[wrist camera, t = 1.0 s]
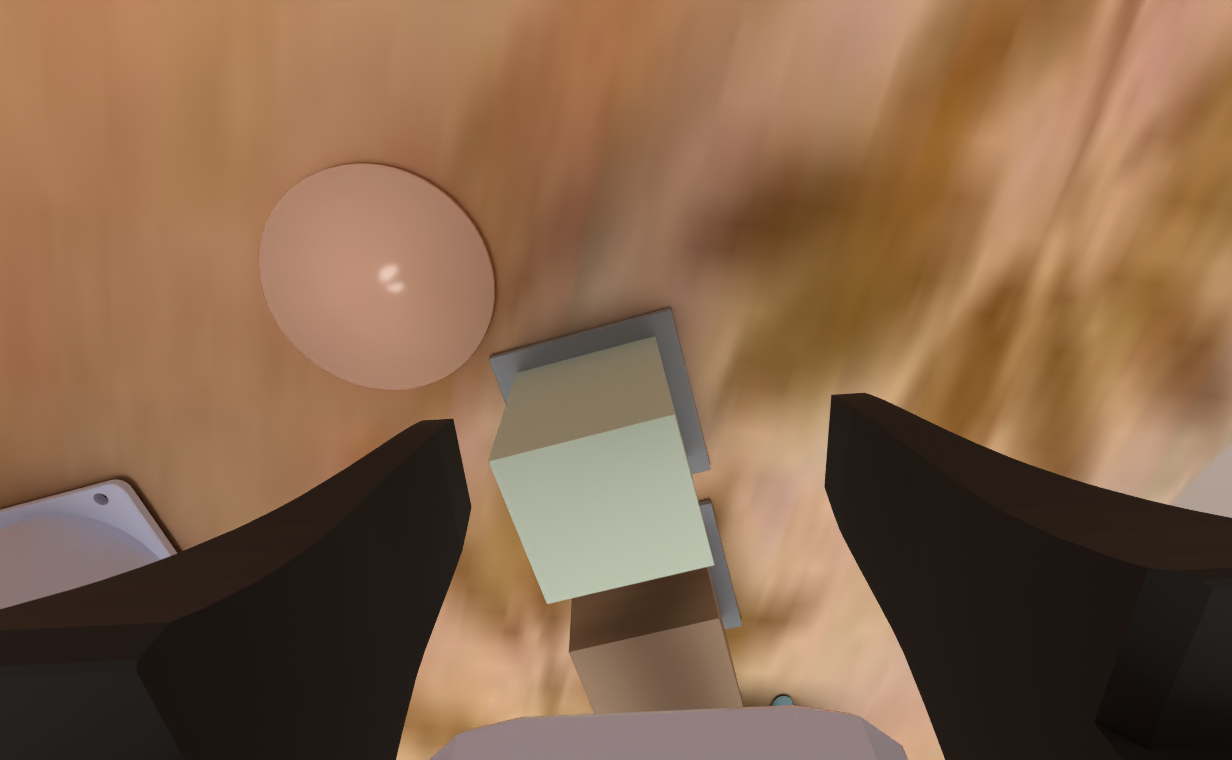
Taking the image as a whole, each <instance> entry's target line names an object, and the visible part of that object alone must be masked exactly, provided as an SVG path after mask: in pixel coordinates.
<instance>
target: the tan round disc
mask: <svg viewBox="0 0 1232 760" xmlns="http://www.w3.org/2000/svg"><path fill="white" fill-rule="evenodd" d="M259 273H260V279H261V285H262V289H263V292H264V296H265V299H266V302H267V304H268V306H269V309H270V311H271V313H272V315H273V317H274V319H275V320H276V322H277V324H278V325H279V327H280V329H281V330H282V331H283V333H284V334H285V335H286V337H287V338H288V339H289V341H290V342H291V343H292V344H293V345H294V346H295V347H296V348H297V349H298V350H299V351H300V352H301V353H302V354H303V355H304V356H306V357H307V358H308V359H309V360H310V361H312V362H313V363H314V364H316V365H317V366H319V367H320V368H322V369H323V370H325V371H327V372H328V373H330V374H332V375H334V376H336V377H338V378H340V379H343V380H345V381H348V382H350V383H353V384H357V385H360V386H364V387H368V388H375V389H381V390H403V389H412V388H417V387H422V386H425V385H428V384H431V383H434V382H436V381H438V380H440V379H442V378H444V377H446V376H448V375H449V374H451V373H452V372H454V371H455V370H457V369H458V368H459V367H460V366H462V365H463V364H464V363H465V362H466V361H467V360H468V359H469V358H470V357H471V355H472V354H473V353H474V352H475V351H476V349H477V348H478V346H479V344H480V343H481V341H482V339H483V338H484V336H485V333H486V331H487V329H488V326H489V324H490V322H491V318H492V314H493V310H494V303H495V276H494V269H493V265H492V261H491V258H490V254H489V251H488V249H487V246H486V244H485V242H484V239H483V237H482V235H481V234H480V232H479V230H478V229H477V227H476V225H475V224H474V222H473V221H472V220H471V218H470V217H469V216H468V214H467V213H466V212H465V210H464V209H463V208H462V207H461V206H460V205H459V204H458V203H457V202H456V201H455V200H454V199H453V198H452V197H450V196H449V195H448V194H447V193H445V192H444V191H443V190H442V189H441V188H439V187H437V186H436V185H434V184H433V183H431V182H429V181H428V180H426V179H424V178H422V177H420V176H418V175H416V174H414V173H412V172H409V171H406V170H403V169H400V168H397V167H392V166H387V165H382V164H372V163H356V164H346V165H341V166H337V167H332V168H328V169H325V170H322V171H320V172H317V173H314V174H312V175H310V176H309V177H307V178H305V179H303V180H302V181H300V182H298V183H297V184H296V185H295V186H294V187H292V188H291V189H290V190H289V191H287V193H286V194H285V195H284V196H283V197H282V198H281V199H280V200H279V201H278V203H277V204H276V206H275V207H274V209H273V211H272V212H271V214H270V216H269V218H268V220H267V222H266V225H265V227H264V230H263V234H262V238H261V242H260V250H259Z"/></svg>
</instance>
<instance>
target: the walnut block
mask: <svg viewBox="0 0 1232 760" xmlns="http://www.w3.org/2000/svg"><path fill="white" fill-rule="evenodd" d="M569 653H570V656H571V658H572V661H573V663H574V666H575V668H576V670H577V673H578V675H579V678H580V680H581V683H582V685H583V687H584V690H585V692H586V695H587V697H588V700H589V702H590V704H591V707H592V709H593V712H594V714H604V713H627V712H650V711H672V710H695V709H717V708H740V707H743V703H742V699H741V695H740V691H739V686H738V682H737V678H736V674H735V670H734V666H733V662H732V658H731V653H730V649H729V645H728V641H727V637H726V633H725V629H724V625H723V620H722V616H721V613H720V609H719V605H718V601H717V598H716V594H715V590H714V587H713V583H712V579H711V575H710V572H709V568H708V567H704V568H700V569H696V570H692V571H687V572H683V573H679V574H674V575H670V576H666V577H661V578H657V579H653V580H648V581H644V582H640V583H636V584H631V585H627V586H623V587H618V588H614V589H610V590H605V591H601V592H597V593H592V594H588V595H584V596H580V597H575V598H572V607H571V625H570V643H569Z"/></svg>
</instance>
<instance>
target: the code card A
mask: <svg viewBox="0 0 1232 760" xmlns="http://www.w3.org/2000/svg"><path fill="white" fill-rule="evenodd" d="M654 336H655V337H656V341H657V345H658V349H659V352H660V356H661V360H662V364H663V368H664V371H665V375H666V379H667V383H668V387H669V390H670V394H671V398H672V402H673V406H674V410H675V413H676V417H677V421H678V425H679V429H680V432H681V436H682V440H683V444H684V448H685V451H686V455H687V459H688V463H689V467H690V471H691V474H694V473H698V472H702V471H707V470H711V468H710V464H709V460H708V456H707V452H706V448H705V444H704V440H703V436H702V432H701V428H700V424H699V420H698V416H697V411H696V407H695V403H694V399H693V395H692V391H691V387H690V383H689V379H688V375H687V371H686V367H685V363H684V359H683V355H682V351H681V347H680V343H679V339H678V335H677V331H676V327H675V322H674V318H673V314H672V310H671V307H670V308H667V309H663V310H659V311H656V312H652V313H648V314H644V315H641V316H637V317H633V318H629V319H626V320H622V321H618V322H615V323H611V324H607V325H603V326H600V327H596V328H592V329H589V330H585V331H581V332H577V333H574V334H570V335H566V336H563V337H559V338H555V339H551V340H548V341H544V342H540V343H537V344H533V345H529V346H525V347H522V348H518V349H514V350H510V351H507V352H503V353H499V354H496V355H492V356H490V358H489V361H490V363H491V366H492V369H493V371H494V374H495V376H496V379H497V382H498V384H499V387H500V390H501V392H502V395H503V397H504V400H505V403H506V404H507V401H508V398H509V395H510V392H511V389H512V386H513V382H514V379H515V376H516V373H518V372H522V371H526V370H529V369H533V368H537V367H541V366H544V365H548V364H552V363H556V362H559V361H563V360H567V359H571V358H574V357H578V356H582V355H586V354H590V353H593V352H597V351H601V350H605V349H608V348H612V347H616V346H620V345H623V344H627V343H631V342H635V341H638V340H642V339H646V338H650V337H654Z"/></svg>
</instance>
